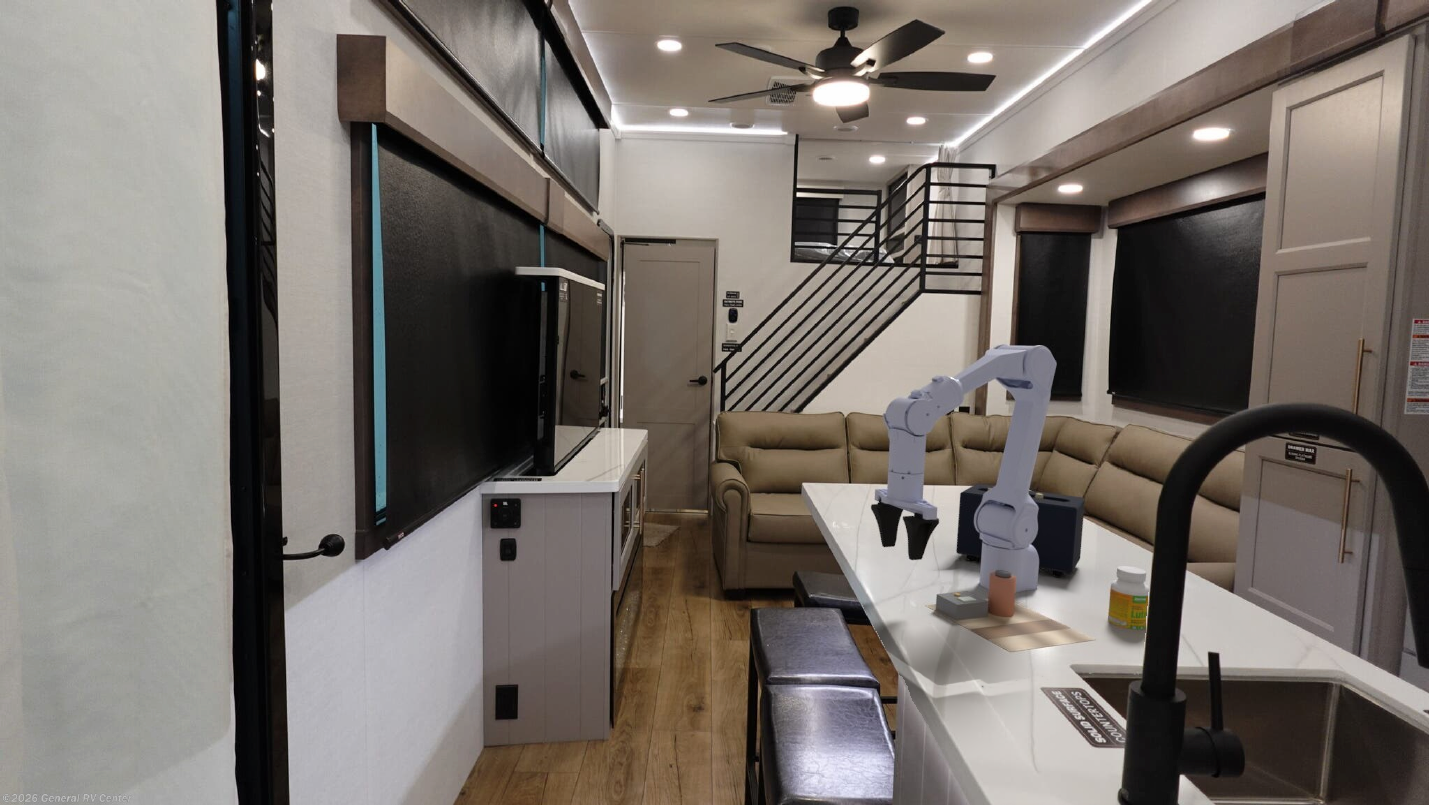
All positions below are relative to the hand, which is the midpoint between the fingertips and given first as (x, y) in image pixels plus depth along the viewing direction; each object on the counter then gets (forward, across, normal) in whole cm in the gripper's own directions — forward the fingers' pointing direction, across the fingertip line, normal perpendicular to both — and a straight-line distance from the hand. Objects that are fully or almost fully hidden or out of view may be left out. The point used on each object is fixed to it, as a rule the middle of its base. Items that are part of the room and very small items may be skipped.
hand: (901, 552), depth 124 cm
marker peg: (+8, +10, +12) cm, 18 cm away
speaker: (+10, -16, +39) cm, 43 cm away
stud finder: (+8, +8, +6) cm, 13 cm away
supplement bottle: (+10, +18, +30) cm, 36 cm away
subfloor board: (+9, +13, +10) cm, 19 cm away
